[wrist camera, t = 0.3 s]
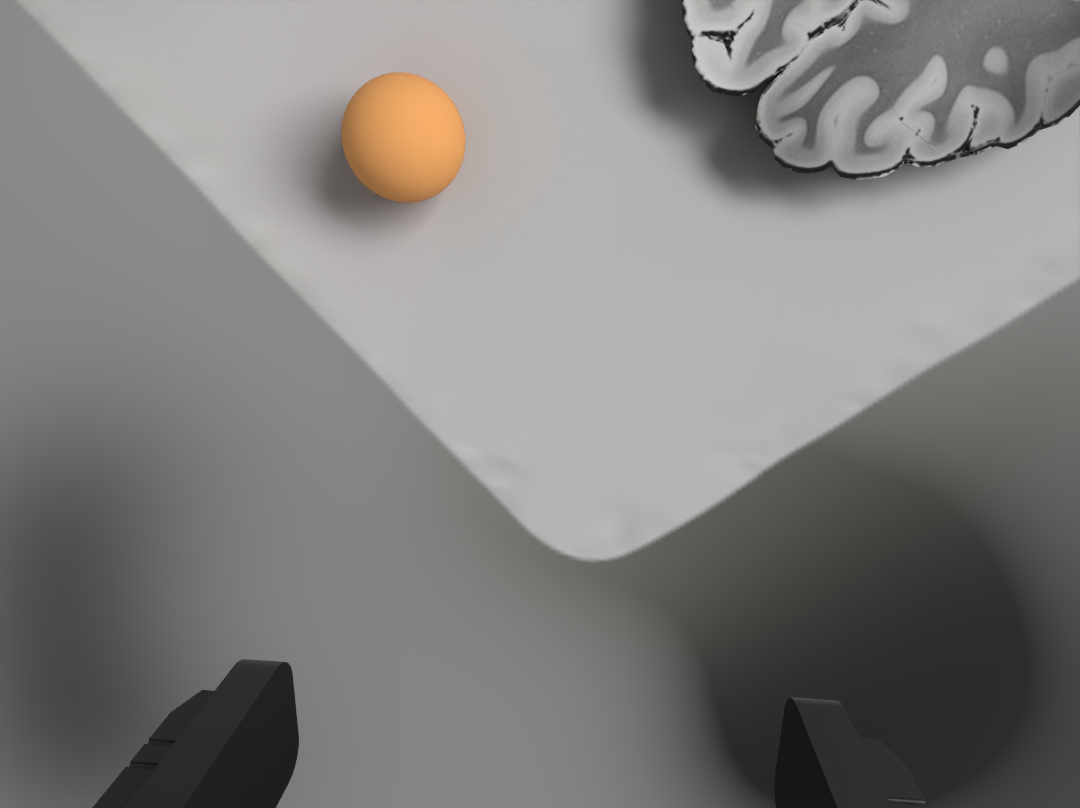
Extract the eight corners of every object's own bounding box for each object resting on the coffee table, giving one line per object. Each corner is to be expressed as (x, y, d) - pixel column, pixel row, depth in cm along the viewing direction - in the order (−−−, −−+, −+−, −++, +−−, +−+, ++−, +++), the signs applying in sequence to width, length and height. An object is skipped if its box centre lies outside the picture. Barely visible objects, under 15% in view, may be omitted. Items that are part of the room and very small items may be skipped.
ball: (362, 81, 33) (318, 60, 28) (474, 84, 33) (452, 63, 28) (366, 200, 35) (326, 200, 30) (474, 204, 35) (452, 205, 29)
